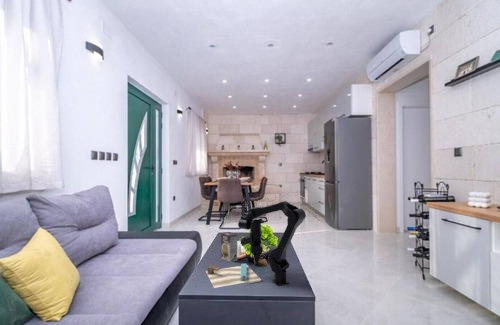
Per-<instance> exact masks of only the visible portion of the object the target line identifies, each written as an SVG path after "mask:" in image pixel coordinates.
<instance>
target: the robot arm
mask: <svg viewBox="0 0 500 325" xmlns="http://www.w3.org/2000/svg"><path fill="white" fill-rule="evenodd" d="M278 211H281V212H282V214H284V216H286V217H287V219H286V222H287V226H286V228H285V230H284V232H283V234H282V236H281V238H280V239H279V240H280V241H279V243H278V245H277V247H275V248H273V249H271V251H270V253H269V255H268V263H269V265H270V269H271V272H273V273H274V278H273V279H271V281H272V283H274V284H275V285H276V286H283V285H288V284H290V282H289V281H288V280H287V269H289V268H290V262H288V260H287V250H288V248H289V245H290V244H291V242H292V239H293V238H294V235H295V233H296V230H297V228H298V227H299V226H300V225H301V224H302V223H303V222H304V220H305V219H306V217H307V216H306V212H305V210H304V209H302V208H300V207H299V206H296V205H293V204H291V203H290V202H288V201H280V202H278V203H277V202H276V203H274V204H271V205H267V206H256V207H251V208H249V209H248V213H247V214H246V216H243V215H242V216H240V219H239V221H238V223H237V225H238V226H237V227H238V228H239V229H242V230H246V231H250V232H249V234H248V235H245V236H243V237H241V238H239V242H240V244H241V246H242V247H244V246H245V245H247V244H250V246H249V247H250V249H249V250H250V253H251V255H252V254H253V255H254V259H255V263H256V264H257V263H258V261H259V259H260V256H261V254H262V255H263V252H264V250H263V245H262V244H263V243H262V224H264V223H265V221H264V219H262V217H263V216H266V215H268V214H271V213H274V212H278Z"/></svg>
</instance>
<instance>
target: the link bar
mask: <svg viewBox="0 0 500 325" xmlns="http://www.w3.org/2000/svg"><path fill="white" fill-rule="evenodd" d="M247 265H248V264H247V263H241V264H240V266H241V277H240V278H241V280H242V281H245V280H247Z"/></svg>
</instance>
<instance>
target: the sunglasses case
mask: <svg viewBox="0 0 500 325" xmlns="http://www.w3.org/2000/svg"><path fill="white" fill-rule="evenodd" d="M265 258H266V257H265ZM265 258H263V257H260V259H259V261H258V263H257V264H256V263H255V259H254V260H253V263H254V266H255V267H256V268H257V267H260V268H261V267H269V264H268V263H269V262H268V260H267V258H266V259H265Z"/></svg>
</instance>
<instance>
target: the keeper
mask: <svg viewBox="0 0 500 325" xmlns="http://www.w3.org/2000/svg"><path fill="white" fill-rule="evenodd" d="M219 269H221V268H220V267H219V266H214V265H209V266H207V271H208V274H210V275H211V274H212V273H214V271H218V270H219Z"/></svg>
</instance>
